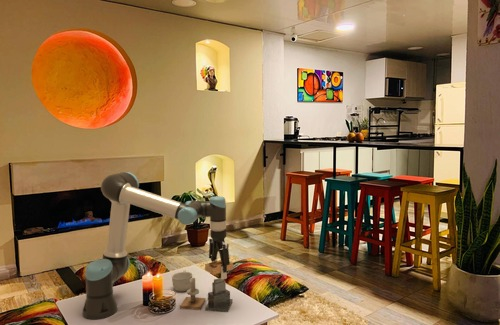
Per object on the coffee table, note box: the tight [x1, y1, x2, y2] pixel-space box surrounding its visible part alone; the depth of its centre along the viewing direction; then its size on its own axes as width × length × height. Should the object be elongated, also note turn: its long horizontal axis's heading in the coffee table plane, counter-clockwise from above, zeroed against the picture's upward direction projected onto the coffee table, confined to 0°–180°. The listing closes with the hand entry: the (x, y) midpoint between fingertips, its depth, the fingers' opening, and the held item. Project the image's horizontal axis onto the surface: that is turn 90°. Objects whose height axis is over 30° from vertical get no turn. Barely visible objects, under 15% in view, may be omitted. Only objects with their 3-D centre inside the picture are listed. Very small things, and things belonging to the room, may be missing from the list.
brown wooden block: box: [204, 259, 234, 275], centre depth 185 cm, size 11×7×3 cm, turn 127°
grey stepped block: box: [204, 277, 233, 313], centre depth 186 cm, size 11×11×14 cm
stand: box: [179, 277, 207, 311], centre depth 188 cm, size 10×10×13 cm
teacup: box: [171, 270, 193, 292], centre depth 208 cm, size 14×11×8 cm
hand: (219, 276), depth 185 cm, fingers closed on brown wooden block, 7 cm apart
